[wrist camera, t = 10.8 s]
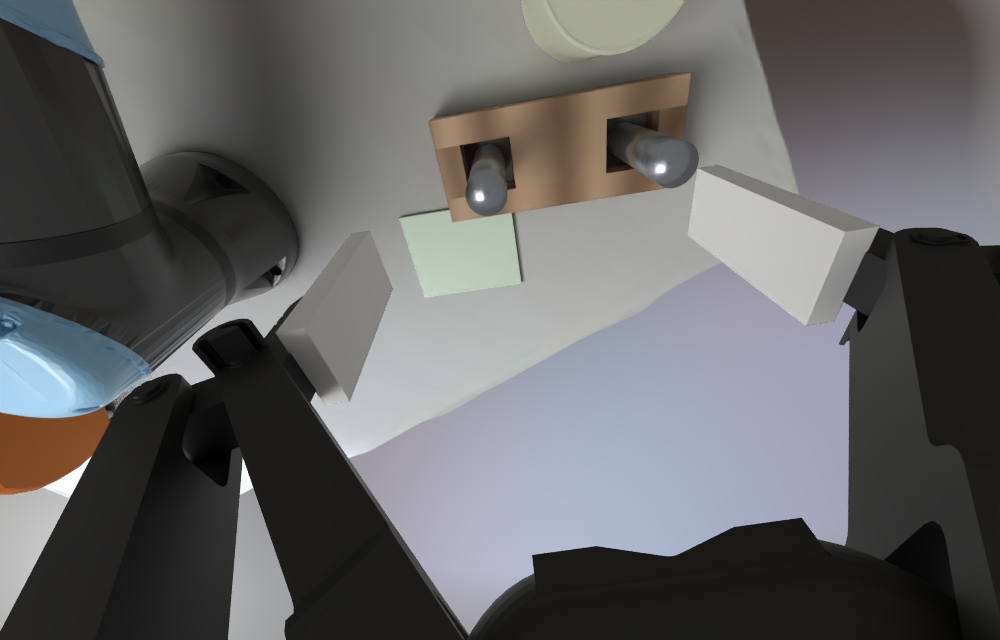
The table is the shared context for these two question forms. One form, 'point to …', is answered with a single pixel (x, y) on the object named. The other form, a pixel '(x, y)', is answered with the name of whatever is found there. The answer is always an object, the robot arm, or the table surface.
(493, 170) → the pin
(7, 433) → the alarm clock
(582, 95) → the socket block
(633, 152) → the pin
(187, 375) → the table surface
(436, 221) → the mat
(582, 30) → the can
